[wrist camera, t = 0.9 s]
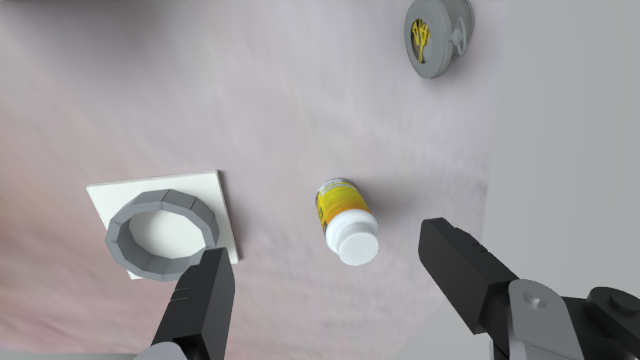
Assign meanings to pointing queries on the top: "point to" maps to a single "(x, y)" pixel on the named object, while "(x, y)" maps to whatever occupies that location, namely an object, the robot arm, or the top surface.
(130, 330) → the top surface
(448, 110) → the top surface
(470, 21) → the pocket watch
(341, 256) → the supplement bottle
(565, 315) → the robot arm
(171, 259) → the ring holder
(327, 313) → the top surface
